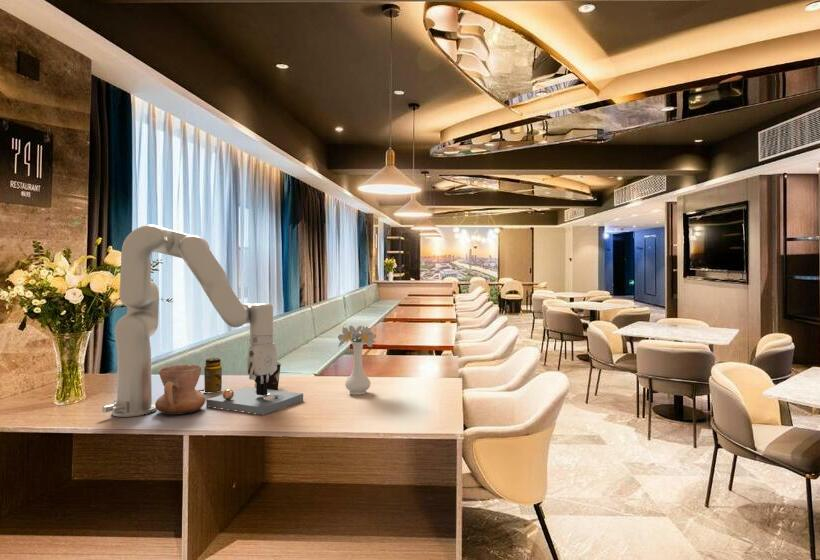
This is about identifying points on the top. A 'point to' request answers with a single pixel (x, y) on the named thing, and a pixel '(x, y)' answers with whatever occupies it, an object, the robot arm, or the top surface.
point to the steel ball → (269, 397)
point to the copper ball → (228, 394)
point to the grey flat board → (256, 401)
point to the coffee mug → (274, 379)
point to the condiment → (212, 375)
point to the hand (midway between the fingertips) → (261, 394)
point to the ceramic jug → (180, 389)
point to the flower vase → (357, 357)
